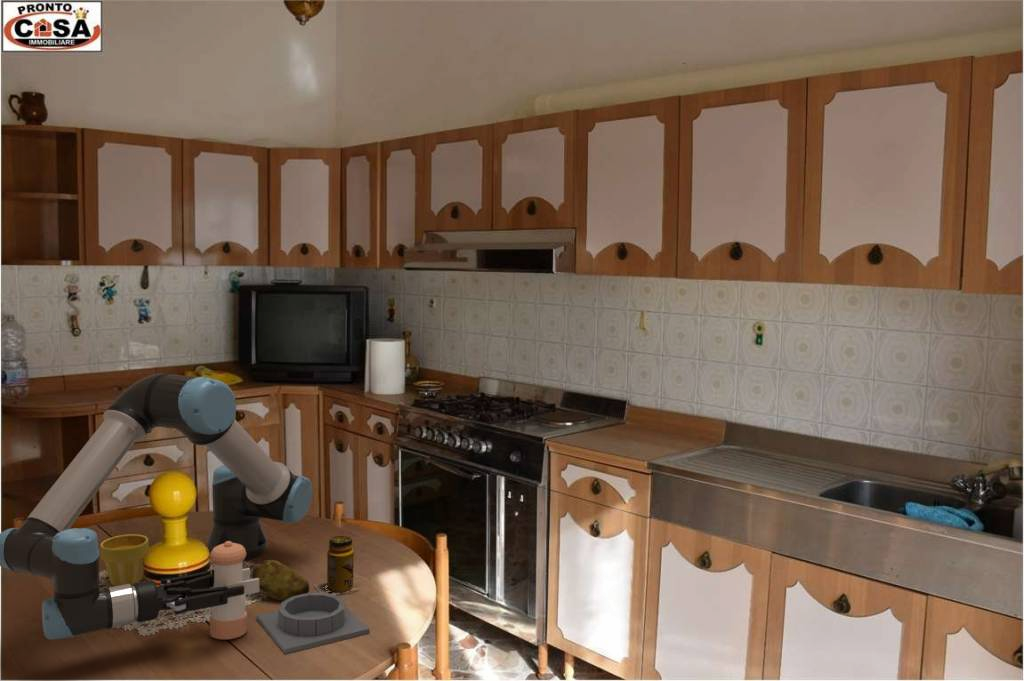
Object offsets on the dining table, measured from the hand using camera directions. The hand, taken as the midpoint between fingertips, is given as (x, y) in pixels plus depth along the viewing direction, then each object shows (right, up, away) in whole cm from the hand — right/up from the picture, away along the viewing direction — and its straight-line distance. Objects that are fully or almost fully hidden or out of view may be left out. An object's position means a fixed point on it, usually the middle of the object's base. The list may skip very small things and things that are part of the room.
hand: (253, 579), depth 177 cm
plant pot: (-37, -7, +23) cm, 44 cm away
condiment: (+12, -9, +23) cm, 28 cm away
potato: (+1, -9, +18) cm, 20 cm away
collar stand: (+11, -11, +3) cm, 16 cm away
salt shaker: (-5, -10, -2) cm, 11 cm away
